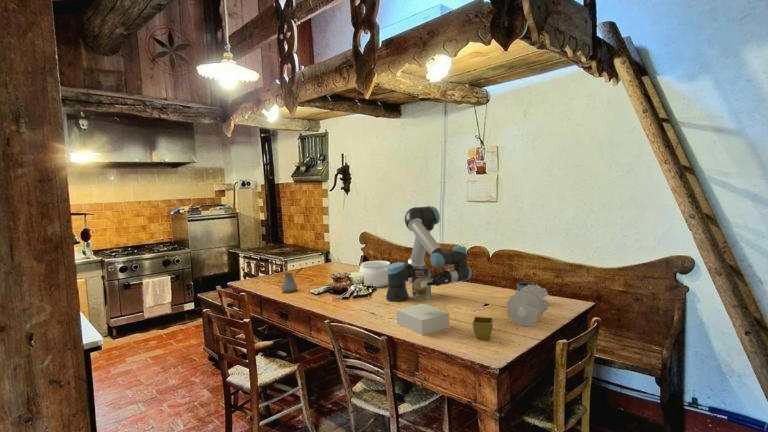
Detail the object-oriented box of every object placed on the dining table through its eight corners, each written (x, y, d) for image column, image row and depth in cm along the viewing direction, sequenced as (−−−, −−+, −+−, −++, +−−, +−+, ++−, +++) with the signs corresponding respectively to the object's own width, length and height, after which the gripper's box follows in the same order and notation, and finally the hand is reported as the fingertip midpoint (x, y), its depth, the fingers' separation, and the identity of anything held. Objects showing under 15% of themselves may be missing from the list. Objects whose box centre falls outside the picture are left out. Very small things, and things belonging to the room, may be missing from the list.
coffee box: (411, 298, 211) (410, 268, 210) (415, 295, 217) (414, 266, 216) (429, 299, 208) (428, 269, 207) (431, 296, 214) (430, 266, 213)
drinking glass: (515, 304, 245) (515, 284, 244) (518, 299, 253) (518, 281, 253) (533, 305, 240) (532, 286, 239) (535, 301, 249) (535, 282, 248)
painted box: (396, 324, 218) (396, 309, 218) (422, 317, 228) (422, 303, 227) (422, 336, 200) (421, 320, 199) (449, 328, 210) (448, 313, 209)
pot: (401, 283, 309) (401, 262, 308) (378, 290, 289) (378, 268, 288) (373, 278, 328) (373, 258, 327) (350, 285, 309) (349, 264, 307)
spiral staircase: (513, 333, 208) (526, 317, 228) (545, 324, 198) (556, 308, 218) (497, 301, 210) (512, 287, 231) (528, 290, 200) (540, 277, 221)
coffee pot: (289, 293, 289) (288, 273, 288) (278, 292, 295) (277, 272, 294) (309, 287, 307) (308, 267, 306) (298, 285, 313) (297, 266, 312)
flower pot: (472, 340, 191) (472, 322, 190) (475, 334, 199) (474, 316, 198) (491, 342, 188) (491, 323, 187) (493, 335, 196) (493, 317, 195)
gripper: (462, 287, 212) (428, 294, 200) (434, 279, 231) (402, 285, 220) (461, 273, 211) (428, 279, 200) (434, 266, 231) (402, 272, 220)
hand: (415, 282), depth 210 cm, fingers closed on coffee box, 11 cm apart
